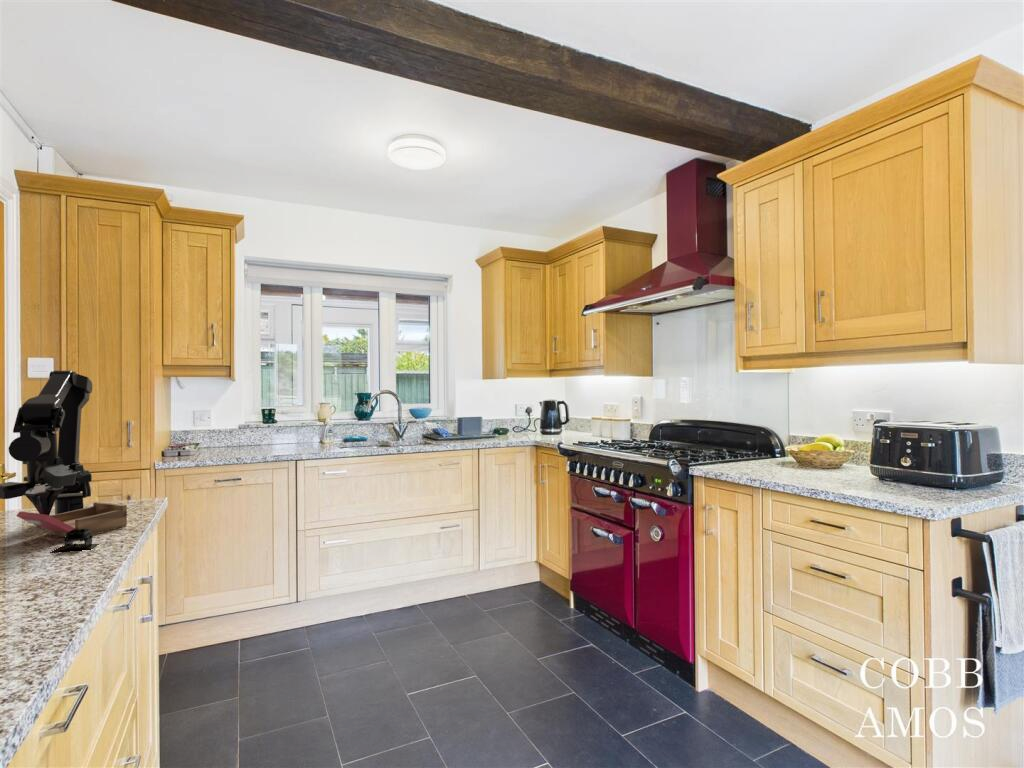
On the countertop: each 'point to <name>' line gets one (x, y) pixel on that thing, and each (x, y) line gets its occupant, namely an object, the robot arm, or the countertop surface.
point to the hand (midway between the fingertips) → (45, 518)
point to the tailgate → (45, 521)
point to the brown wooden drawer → (94, 518)
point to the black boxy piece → (77, 535)
